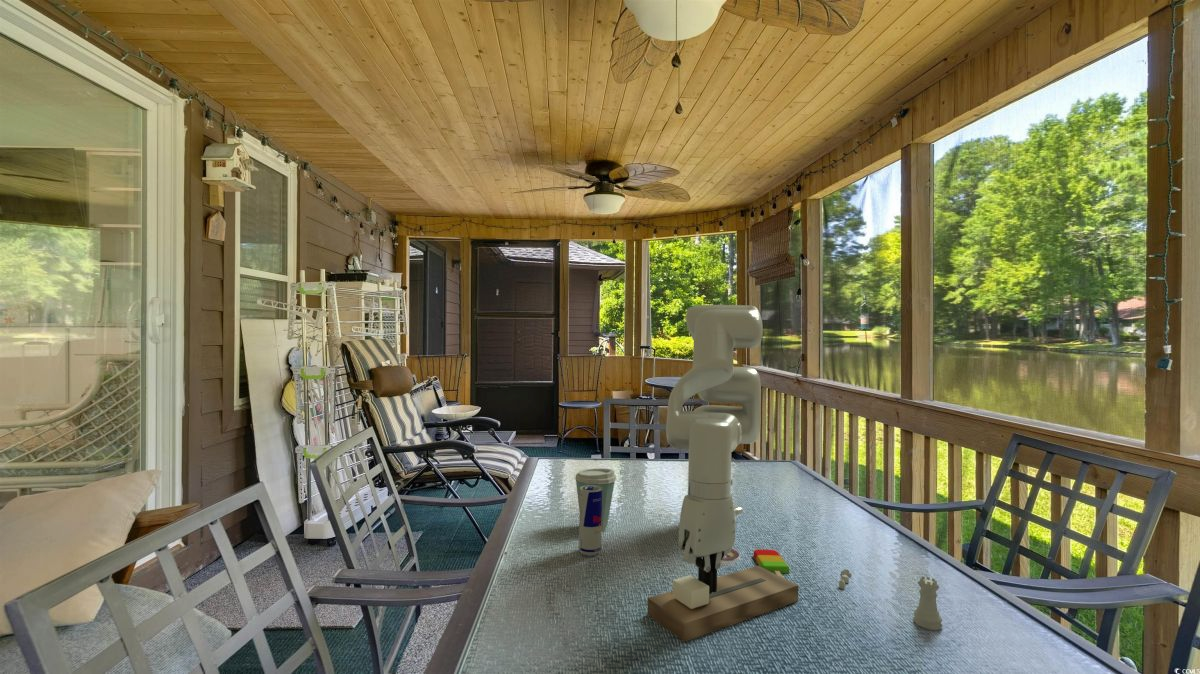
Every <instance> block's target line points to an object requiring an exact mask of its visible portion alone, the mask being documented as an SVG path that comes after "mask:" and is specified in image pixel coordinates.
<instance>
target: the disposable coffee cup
mask: <svg viewBox="0 0 1200 674" xmlns="http://www.w3.org/2000/svg"><path fill="white" fill-rule="evenodd" d="M574 479H575V484H576V491H577V499H578V500H577V502H578V512H579V513H580V487H582V486H585V485H596V486H600V487H602V531H601V533H602V532H604V531H606V529H607V527H608V524H609V517H610V513H611V511H610V510H611V506H612V501H613V500H612V499H613V495H614V494H613V493H614V488H615V482H616V481H617V475H616V474H615V470H614V469H611V468H601V467H599V468H596V467H595V468H593V467H592V468H585V469H581V470H579V471H578V472H577V473H576V475H575V478H574Z"/></svg>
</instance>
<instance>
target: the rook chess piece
mask: <svg viewBox="0 0 1200 674" xmlns="http://www.w3.org/2000/svg"><path fill="white" fill-rule="evenodd" d="M917 584H918V586H919V587H920V589H919V591H918V593H919V594H920V595H919V596H920V597H919V602H918V606H917V607H916V609H915V610H913V617H912V619H913V621H914V623H915V624H916V626H918V627H920V628H922V629H923V630H928V631H933V632H934V631H935V632H936V631H939V630H941V628H943V624H942V622H943V618H942V616H941V615H940V611H939V610H938V605H937V597H938V593H937V590H939V589H940V586H939V584H938V580H936V579H935V578H934V577H932V578H931V577H930V576H926V578H925V576H924V575H923V576H921V577H920V578H919V580H918V581H917Z"/></svg>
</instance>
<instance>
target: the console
mask: <svg viewBox="0 0 1200 674" xmlns="http://www.w3.org/2000/svg"><path fill="white" fill-rule="evenodd" d="M798 601H799V584H797V583H795V582H792V581H791V580H789V579H787V578H785V577H784V578H782V577H780V576H778V575H776V574H775V573H772V572H770V571H768V570H766V569H764V568H762V567H760V566H759V565H755V566H753V567H749V568H745V569H743V570H742V569H741V570H739V571H735V572H732V573H729V574H725V575H723V576H717V591H716V592H712V593H711V594H709V603H708V604H705V605H702V606H699V607H696V608H693V609H691V608H689V607H688V606H686V605H685V604H683V603H681V602H680V601H678V600H677V599H675V598H674V597H673V590H670V591H666V592H664V593H660V594H657V595H653V596H648V597H647V615H648V616H649V617H650V618H652V619H653V620H655V622H657V623H658V624H659V625H661V626H662V627H663V628H665V629H666V630H667V631H668V632H670V633H671V634H673V635H674V636H675V637H677V638H678V639H679V640H681V641H682V642H683V643H684V642H688V641H691V640H693V639H696V638H699V637H701V636H705V635H707V634H710V633H713V632H715V631H718V630H721V629H723V628H727V627H729V626H732V625H735V624H738V623H741V622H744V621H746V620H749V619H752V618H754V617H755V618H756V617H758V616H760V615H763V614H766V613H769V612H771V611H774V610H777V609H779V608H782V607H783V608H784V607H786V606H787V605H792V604H794V603H796V602H798Z"/></svg>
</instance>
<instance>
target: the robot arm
mask: <svg viewBox="0 0 1200 674" xmlns="http://www.w3.org/2000/svg"><path fill="white" fill-rule="evenodd" d="M685 323H686V327H687V329H688V332H689V334H690V336H691V339H692V341H693V349H692V350H693V351H692V367H691V368H690V369H689V370H688V371H686V373H685V374H683V375H682V376H681V377H680V379H678V381H677V382H676V384H675V385H674V387H673V388H672V390H671V392H670V394H669V397H668V403H667V412H666V422H665V425H666V426H665V436H666V440H667V443H668V444H669V446H671V448H673V449H677V450H683V451H688V467H687V468H688V469H687V470H688V471H687V472H688V474H687V475H688V476H687V495H684V498H683V501H682V505H681V510H680V517H679V526H678V541H677V542H678V548H679V549H680V550H682V551H683V557H682V560H683V561H684V562H685V563H687V564H689V565H690V564H691V565H692V564H693V565H695V566H696V567H697V570H698V573H697V576H698V577H697V579H698V580H699V581H701V582H703V583H705V584H706V585H708V586H709V594H711V593H712V592H716V591H717V578H718V570H720V567H721V562H722V560H723V559H724V556H726V555H728V554H730V553H732V551H733V547H734V545H735V540H736V528H737V527H736V526H737V525H736V516H737V515H738V516H739V515H742V514H743V508H742V507H741V506H737V507H735V505H734V500H733V495H732V494H731V489H732V488H731V486H733V484H734V482H733V479H732V452H734V451H735V450H736V449H737V447H738V445H740V444H743V445H744V444H745V445H750V444H754V443H756V442H757V441H758V440H759V437H760V431H761V430H760V429H761V407H762V406H761V402H762V401H761V400H762V383H761V377H760V373H759V372H758V371H757V370H756V369H755V368H753V367H749V366H734V348H737V349H739V348H740V349H754V348H758V347H759V346H760V344H761V343H762V341H763V340H762V339H763V335H764V334H763V332H764V328H763V327H764V325H763V319H762V316H761V313H760V311H759V309H758V308H757V307H756V306H754V305H747V304H746V305H743V304H736V305H735V304H734V305H733V304H701V305H700V304H699V305H698V304H697V305H694V306H690V308H688V309H687V311H686V313H685ZM695 395H698V397H699V399H701V400H702V401H704V402H706V403H714V404H715V403H716V404H731V406H729V405H712V404H709V405H708V404H707V405H706V404H705V405H701V406H698V407H696V408H695V409H694V410H693V411H691V410H682V409H683V405H684V403H686V402H687V400H690V398H691V397H693V396H695ZM732 404H734V405H732ZM735 405H736V406H735ZM737 405H740V406H737Z"/></svg>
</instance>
